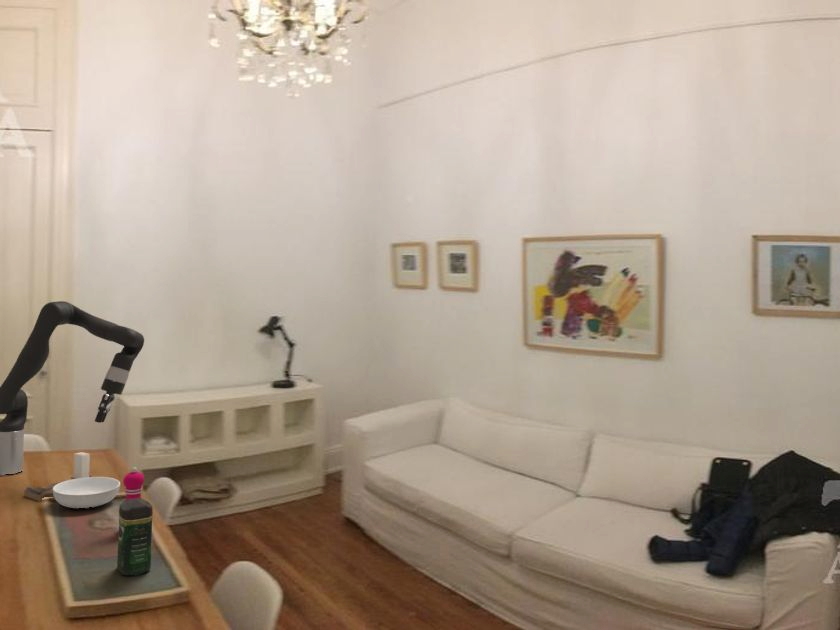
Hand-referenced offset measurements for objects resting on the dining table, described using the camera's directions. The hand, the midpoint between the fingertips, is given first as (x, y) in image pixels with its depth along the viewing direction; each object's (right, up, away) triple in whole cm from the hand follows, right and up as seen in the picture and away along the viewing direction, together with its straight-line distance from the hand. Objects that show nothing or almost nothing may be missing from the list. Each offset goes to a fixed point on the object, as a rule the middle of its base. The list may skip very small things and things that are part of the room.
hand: (99, 422), depth 237 cm
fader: (-8, -23, +3) cm, 24 cm away
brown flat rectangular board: (-12, -25, -3) cm, 28 cm away
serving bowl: (+4, -26, -16) cm, 31 cm away
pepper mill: (+30, -28, -38) cm, 56 cm away
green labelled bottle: (+42, -29, -65) cm, 83 cm away
